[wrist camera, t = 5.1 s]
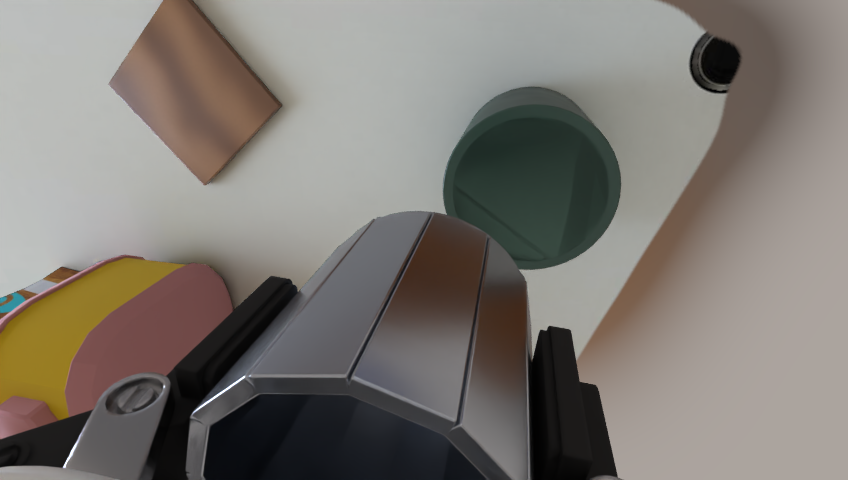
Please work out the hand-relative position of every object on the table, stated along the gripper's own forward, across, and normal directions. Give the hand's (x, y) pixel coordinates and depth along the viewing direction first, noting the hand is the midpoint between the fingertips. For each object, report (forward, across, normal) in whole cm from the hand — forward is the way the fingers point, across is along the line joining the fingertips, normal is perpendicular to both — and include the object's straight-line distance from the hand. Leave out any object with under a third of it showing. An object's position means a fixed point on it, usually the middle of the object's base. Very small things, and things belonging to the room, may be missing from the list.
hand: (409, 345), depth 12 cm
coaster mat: (+26, +26, -2) cm, 37 cm away
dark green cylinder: (+26, -4, 0) cm, 26 cm away
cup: (+2, 0, 0) cm, 2 cm away
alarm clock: (+26, +30, +23) cm, 46 cm away
